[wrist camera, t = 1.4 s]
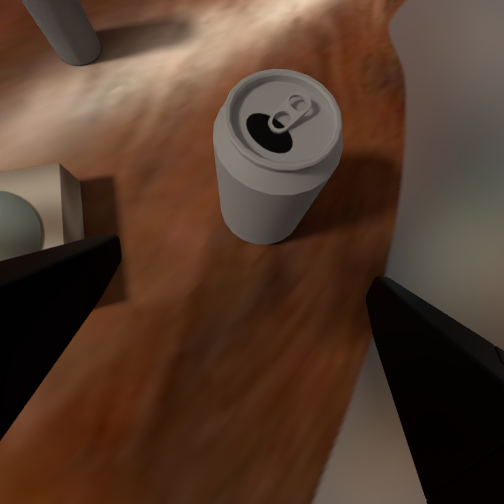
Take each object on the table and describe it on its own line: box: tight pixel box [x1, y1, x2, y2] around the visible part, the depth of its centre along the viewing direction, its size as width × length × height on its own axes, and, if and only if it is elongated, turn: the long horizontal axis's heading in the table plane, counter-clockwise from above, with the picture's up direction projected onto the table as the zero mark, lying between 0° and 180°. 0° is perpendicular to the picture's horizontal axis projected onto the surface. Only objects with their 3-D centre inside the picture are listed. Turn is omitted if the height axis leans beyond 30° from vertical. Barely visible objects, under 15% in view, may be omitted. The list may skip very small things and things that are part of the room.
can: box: [213, 69, 343, 244], centre depth 19 cm, size 8×8×12 cm
